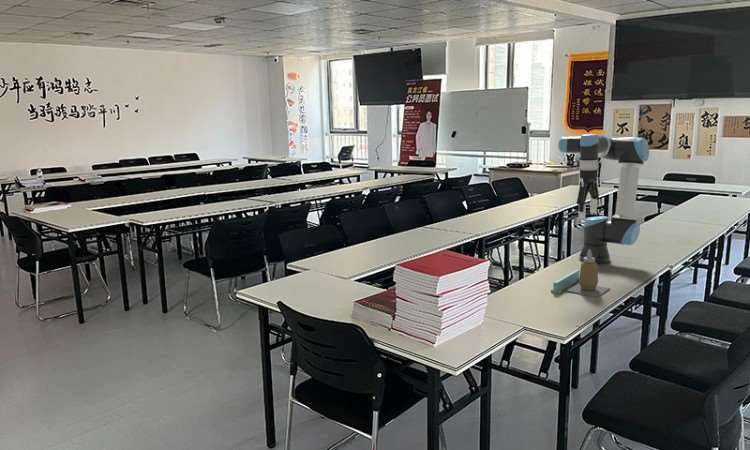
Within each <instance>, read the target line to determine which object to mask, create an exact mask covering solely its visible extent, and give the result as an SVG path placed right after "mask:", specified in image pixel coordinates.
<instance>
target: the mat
mask: <svg viewBox="0 0 750 450" xmlns="http://www.w3.org/2000/svg"><path fill="white" fill-rule="evenodd" d="M610 290H611V288H610V287H606V286H601V285H597V286H596V289H595V290H593V291H586V290H583V289H581V286H580V283H579V282H577V283H575V285H573V286H571V287H570V288H568V289H567V290H566V291H565V292H567V293H571V294H576V295H580V296H587V297H592V298H597V299H598V298H600V297H601V296H602V295H605V293H607V292H608V291H610Z"/></svg>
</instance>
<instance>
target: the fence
mask: <svg viewBox="0 0 750 450" xmlns="http://www.w3.org/2000/svg"><path fill="white" fill-rule="evenodd" d="M579 277H580V269H574V270H573V271H571V272H569V273H568V274H566V275H564V276H562V277H561V278H559V279H557V280H555V281H553V287H552V289H551V290H550V293H553V294H559V295H560V294H562V293H563V291H564V290H565V289H567V288H569V287H570V286H572V285H574V284H576V283H579Z"/></svg>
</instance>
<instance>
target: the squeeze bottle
mask: <svg viewBox="0 0 750 450" xmlns="http://www.w3.org/2000/svg"><path fill="white" fill-rule="evenodd" d="M598 273H599V272H598V263H595V258H594V257H592V253H591V250H588V252H587V256H586V257H584V262H583V261H581V263H580V269H579V282H578V283H580V286H581V289H583V290H586V291H593V290H595V289H596V286H598V283H599V274H598Z"/></svg>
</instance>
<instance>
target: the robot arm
mask: <svg viewBox="0 0 750 450" xmlns="http://www.w3.org/2000/svg"><path fill="white" fill-rule="evenodd" d="M558 150H559V152H560V153H563V154H564V153H565V154H578V155H579V178H580V179H582V180H583V181H580V182H579V189H578V193H577V199H576V205H578V219H580V220H584V222H583V244H582V248H581V251H580V253H579V260H580V261H581V262H584V257H586V256H587V252H588V250H591V253H592V257H594V258H595V263H596V264H607V263H609V262H610V261H611V255H610V251H609V249H608V244H609V243H610V244H616V245H622V246H632V245H634V244H635V243H636V242H637V240H638V238H639V236H640V231H641V225H640V223H638V222H637V218H636V217H635V208H636V202H637V201H636V199H637V192H638V184H639V183H638V182H639V177H640V176H639V175H640V168H642V167H643V166H644V162H647V161H648V160H649V157H650V146H649V142H648V141H647V140H646V138H644V137H631V136H630V137H608V136H605V135H599V134H597V133H585V134H581V135H580V136H562V137H560V139H559V141H558ZM599 158H600V159H605V160H608V161H609V160H611V161H618V163H617V164H618V165H619V167H620V171H619V179H618V180H619V182H618V190H617V198H616V204H615V205H616V206H615V214H614V215H612V216H611V219H609V217H608V216H605V215H603V216H601V215H600V216H591V217H587V218H586V211H587V209H586V208H587V207H586V206H587V205H586V201H587V197H588V194H589V195H590V198H589V199H590V201H589V213H590V214H597V211H598V210H597V207H598V205H597V203H598V200H599V199H600V195H599V194H600V193H599V189H598V182H597V180H598V179H597V178H598V176H599V175H598V174H599V170H598V167H599V166H598V165H599V164H600V163H599Z"/></svg>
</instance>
